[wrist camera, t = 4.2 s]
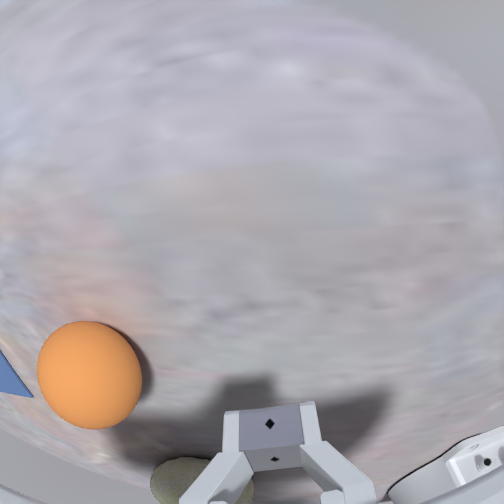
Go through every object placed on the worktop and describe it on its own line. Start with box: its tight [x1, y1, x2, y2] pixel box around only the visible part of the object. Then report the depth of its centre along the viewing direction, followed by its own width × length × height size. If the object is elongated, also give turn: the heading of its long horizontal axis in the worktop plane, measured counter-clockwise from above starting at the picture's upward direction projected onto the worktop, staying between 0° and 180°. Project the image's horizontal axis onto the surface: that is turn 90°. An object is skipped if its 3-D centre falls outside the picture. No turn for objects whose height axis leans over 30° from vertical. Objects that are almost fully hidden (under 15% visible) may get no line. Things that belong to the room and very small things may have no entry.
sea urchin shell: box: [150, 457, 255, 504], centre depth 21 cm, size 9×8×8 cm
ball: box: [37, 321, 142, 429], centre depth 13 cm, size 6×6×6 cm
